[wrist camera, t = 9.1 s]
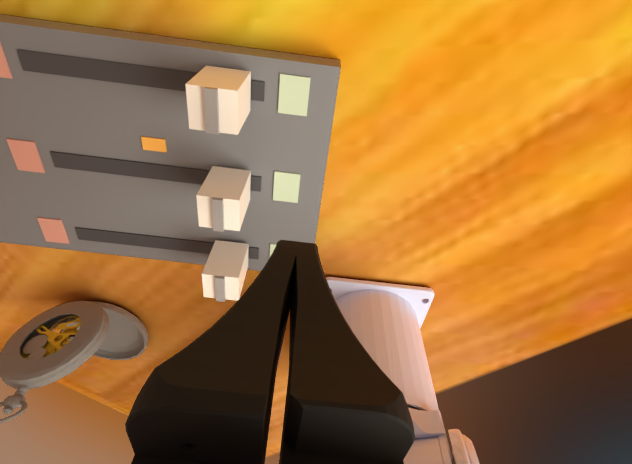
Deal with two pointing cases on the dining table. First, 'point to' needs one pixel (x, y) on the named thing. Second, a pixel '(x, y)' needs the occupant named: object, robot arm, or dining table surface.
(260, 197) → the panel
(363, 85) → the dining table surface
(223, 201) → the handle
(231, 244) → the handle
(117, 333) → the pocket watch
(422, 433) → the robot arm
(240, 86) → the handle
